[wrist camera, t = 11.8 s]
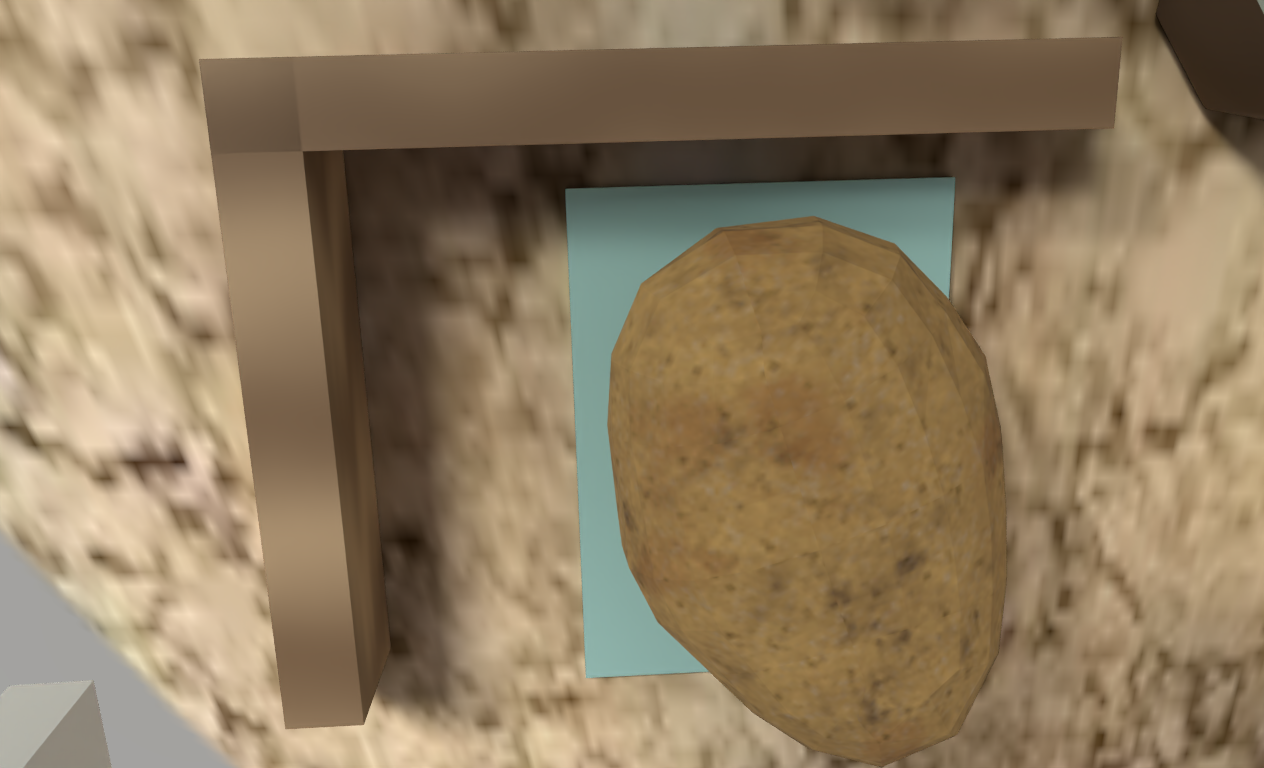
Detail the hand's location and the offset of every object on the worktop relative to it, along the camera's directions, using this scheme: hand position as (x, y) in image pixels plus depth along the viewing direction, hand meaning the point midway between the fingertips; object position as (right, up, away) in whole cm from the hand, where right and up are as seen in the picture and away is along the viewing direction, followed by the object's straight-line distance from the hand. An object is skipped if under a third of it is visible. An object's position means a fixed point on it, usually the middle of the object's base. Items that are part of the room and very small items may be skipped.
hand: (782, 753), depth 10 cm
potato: (+3, +2, +19) cm, 19 cm away
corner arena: (-1, +4, +18) cm, 19 cm away
